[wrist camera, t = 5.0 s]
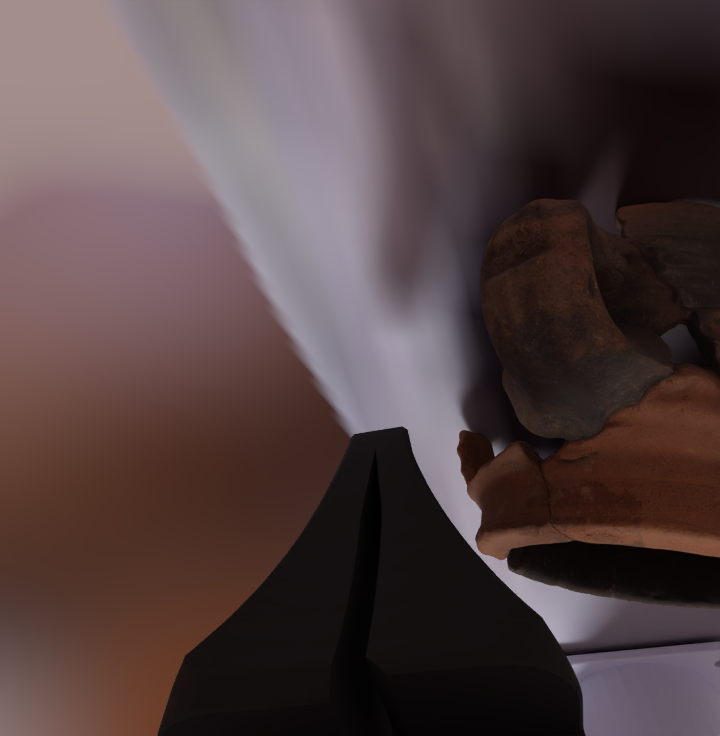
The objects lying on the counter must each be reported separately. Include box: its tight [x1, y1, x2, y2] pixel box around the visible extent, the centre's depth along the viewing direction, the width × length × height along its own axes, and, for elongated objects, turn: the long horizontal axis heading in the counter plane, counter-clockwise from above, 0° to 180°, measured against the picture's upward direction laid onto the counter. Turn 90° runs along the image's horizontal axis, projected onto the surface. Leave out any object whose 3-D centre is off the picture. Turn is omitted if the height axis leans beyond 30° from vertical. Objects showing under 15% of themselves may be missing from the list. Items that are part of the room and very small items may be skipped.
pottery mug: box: [457, 199, 720, 609], centre depth 13 cm, size 12×10×8 cm
